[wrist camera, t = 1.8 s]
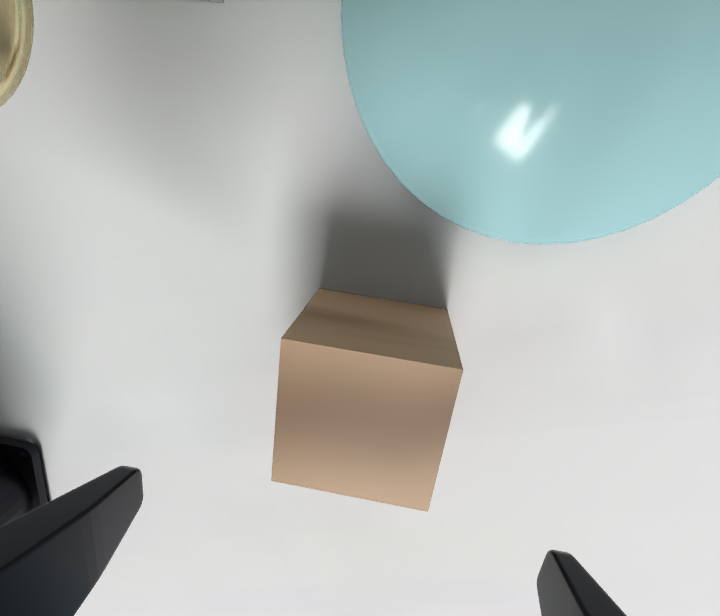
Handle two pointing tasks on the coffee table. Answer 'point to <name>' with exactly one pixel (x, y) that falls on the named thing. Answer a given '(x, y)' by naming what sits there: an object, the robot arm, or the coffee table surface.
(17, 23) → the balance
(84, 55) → the coffee table surface
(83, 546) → the robot arm
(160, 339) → the coffee table surface
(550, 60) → the teal dish
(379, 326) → the tan block
